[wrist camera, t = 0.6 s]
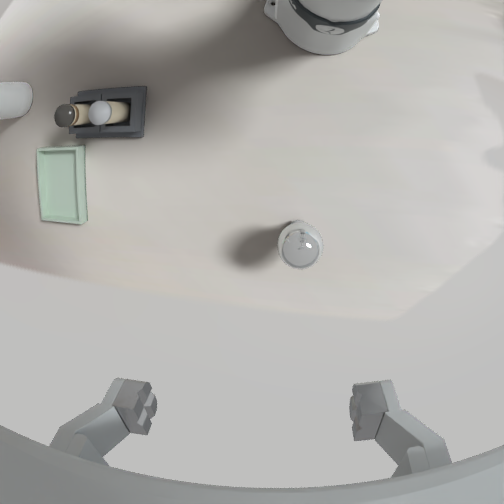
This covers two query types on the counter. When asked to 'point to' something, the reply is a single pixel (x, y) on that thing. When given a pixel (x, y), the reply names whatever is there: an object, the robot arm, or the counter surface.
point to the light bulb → (300, 245)
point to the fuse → (109, 112)
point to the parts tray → (62, 184)
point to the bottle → (15, 99)
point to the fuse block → (121, 129)
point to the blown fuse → (72, 115)
